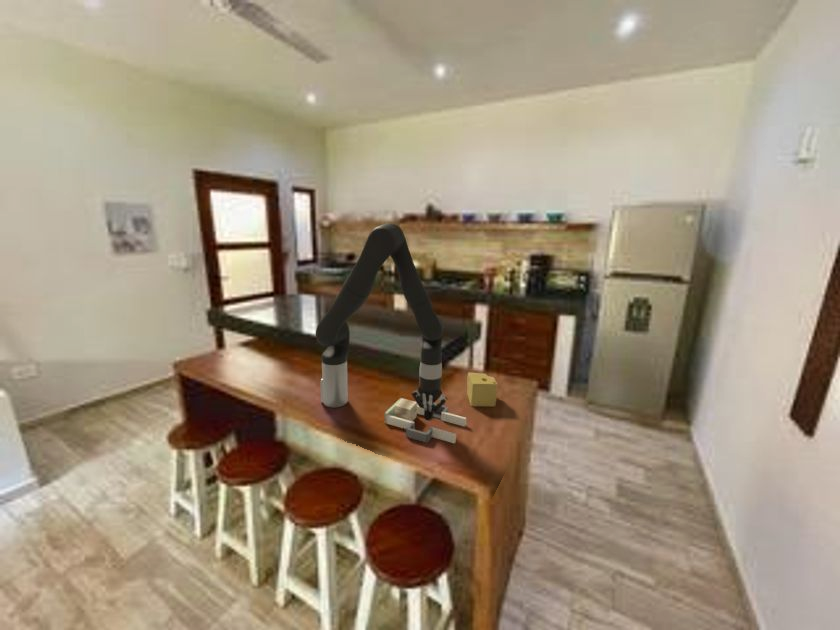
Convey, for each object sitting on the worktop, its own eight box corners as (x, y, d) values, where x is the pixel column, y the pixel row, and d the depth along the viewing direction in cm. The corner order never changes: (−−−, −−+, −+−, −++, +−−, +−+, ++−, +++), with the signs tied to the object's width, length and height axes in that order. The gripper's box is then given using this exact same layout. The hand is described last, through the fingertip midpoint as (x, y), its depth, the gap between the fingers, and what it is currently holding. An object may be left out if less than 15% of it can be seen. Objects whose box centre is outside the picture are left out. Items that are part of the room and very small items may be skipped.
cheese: (490, 394, 153) (492, 372, 150) (496, 407, 142) (498, 384, 140) (465, 394, 152) (467, 372, 150) (469, 407, 142) (471, 383, 139)
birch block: (394, 420, 131) (394, 405, 129) (401, 412, 136) (402, 398, 135) (409, 425, 129) (409, 409, 127) (416, 416, 134) (417, 402, 132)
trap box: (378, 428, 125) (379, 418, 124) (404, 402, 143) (405, 393, 142) (450, 450, 116) (451, 439, 114) (469, 419, 133) (469, 409, 132)
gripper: (408, 374, 123) (406, 419, 128) (445, 382, 118) (442, 429, 122) (417, 366, 130) (415, 409, 134) (452, 373, 124) (449, 418, 129)
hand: (428, 419), depth 128 cm, fingers closed
